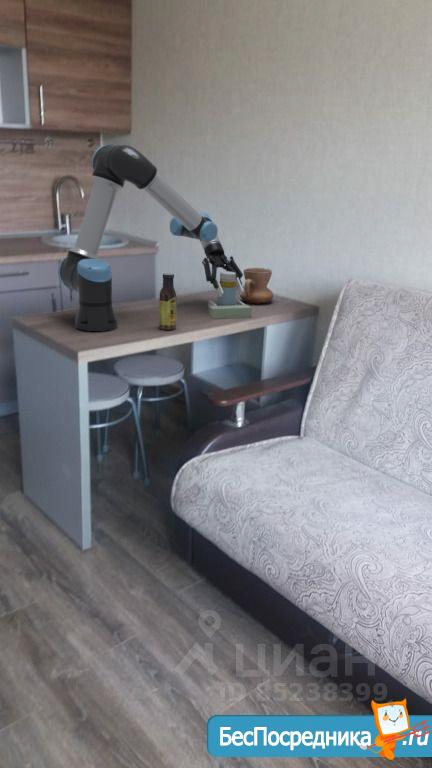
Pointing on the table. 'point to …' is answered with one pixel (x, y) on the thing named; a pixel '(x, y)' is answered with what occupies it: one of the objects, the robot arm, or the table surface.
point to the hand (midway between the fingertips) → (231, 293)
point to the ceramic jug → (257, 285)
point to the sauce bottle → (167, 303)
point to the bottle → (227, 288)
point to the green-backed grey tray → (229, 310)
